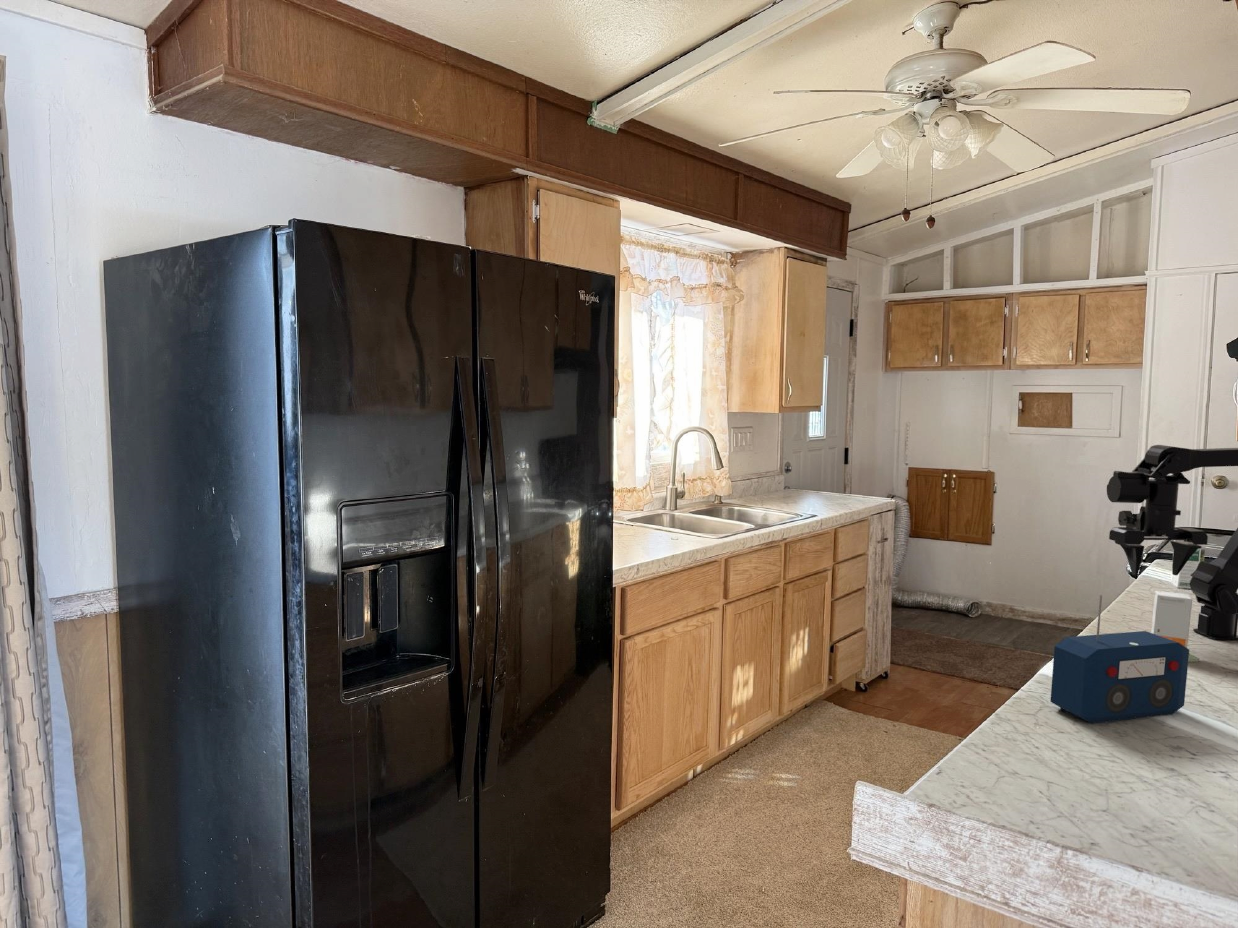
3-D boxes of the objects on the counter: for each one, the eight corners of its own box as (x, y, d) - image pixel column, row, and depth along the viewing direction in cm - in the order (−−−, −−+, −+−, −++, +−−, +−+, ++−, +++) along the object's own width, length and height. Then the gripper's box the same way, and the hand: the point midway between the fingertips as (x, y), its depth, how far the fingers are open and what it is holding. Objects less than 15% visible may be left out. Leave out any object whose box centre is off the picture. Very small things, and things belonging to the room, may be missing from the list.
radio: (1087, 728, 134) (1097, 604, 132) (1045, 707, 143) (1054, 590, 141) (1191, 716, 140) (1202, 597, 138) (1145, 696, 148) (1155, 584, 146)
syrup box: (1177, 588, 228) (1181, 534, 226) (1170, 583, 233) (1174, 531, 232) (1201, 590, 226) (1206, 536, 225) (1193, 585, 232) (1198, 532, 230)
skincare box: (1151, 653, 170) (1156, 594, 169) (1149, 647, 174) (1154, 589, 173) (1187, 658, 168) (1193, 598, 166) (1184, 652, 171) (1190, 594, 170)
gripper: (1175, 498, 192) (1168, 566, 193) (1096, 497, 190) (1090, 566, 192) (1213, 506, 181) (1206, 578, 182) (1129, 505, 179) (1123, 578, 181)
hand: (1154, 574), depth 185 cm, fingers open, 9 cm apart
